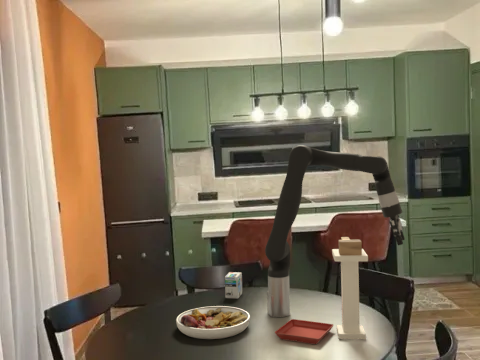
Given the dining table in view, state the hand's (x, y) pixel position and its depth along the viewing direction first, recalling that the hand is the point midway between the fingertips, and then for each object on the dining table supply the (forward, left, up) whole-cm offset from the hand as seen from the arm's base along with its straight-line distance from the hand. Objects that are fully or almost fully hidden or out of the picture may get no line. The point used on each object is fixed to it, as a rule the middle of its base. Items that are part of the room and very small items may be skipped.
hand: (401, 242), depth 210 cm
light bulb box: (-56, +64, -33) cm, 91 cm away
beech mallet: (-24, 0, -1) cm, 24 cm away
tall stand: (-26, -5, -33) cm, 42 cm away
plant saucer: (-43, 0, -34) cm, 54 cm away
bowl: (-75, +19, -34) cm, 84 cm away
